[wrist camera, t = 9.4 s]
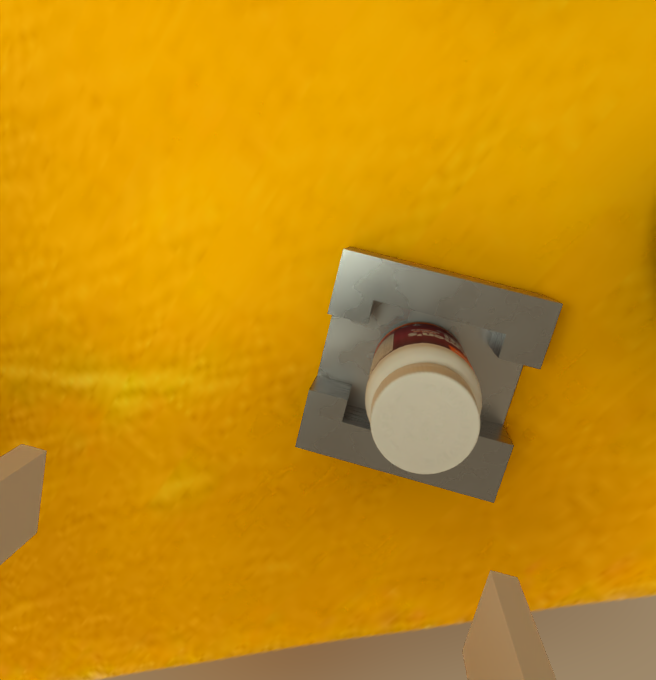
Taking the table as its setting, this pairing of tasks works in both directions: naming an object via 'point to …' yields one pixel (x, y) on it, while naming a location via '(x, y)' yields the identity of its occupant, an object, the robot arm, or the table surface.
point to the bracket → (443, 310)
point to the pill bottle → (423, 399)
